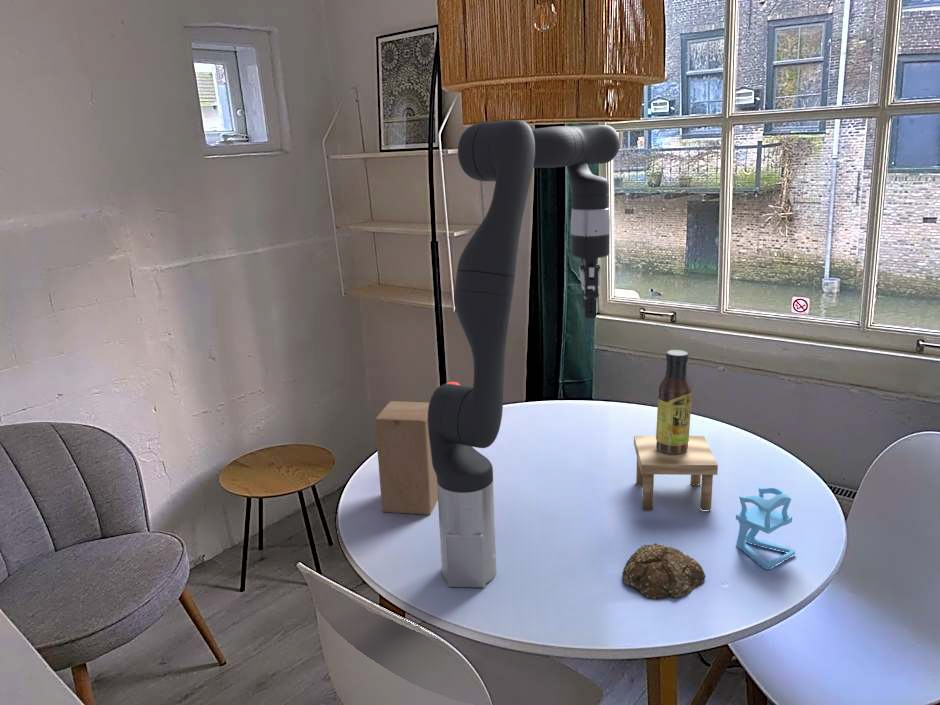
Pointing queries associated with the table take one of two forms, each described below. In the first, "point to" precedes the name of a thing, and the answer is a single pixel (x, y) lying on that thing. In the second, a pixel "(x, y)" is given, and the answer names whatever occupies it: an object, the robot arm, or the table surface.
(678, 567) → the bread roll
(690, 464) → the small wooden side table
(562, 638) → the table surface
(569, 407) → the table surface
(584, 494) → the table surface
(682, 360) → the sauce bottle
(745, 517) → the chair
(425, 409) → the wooden block
